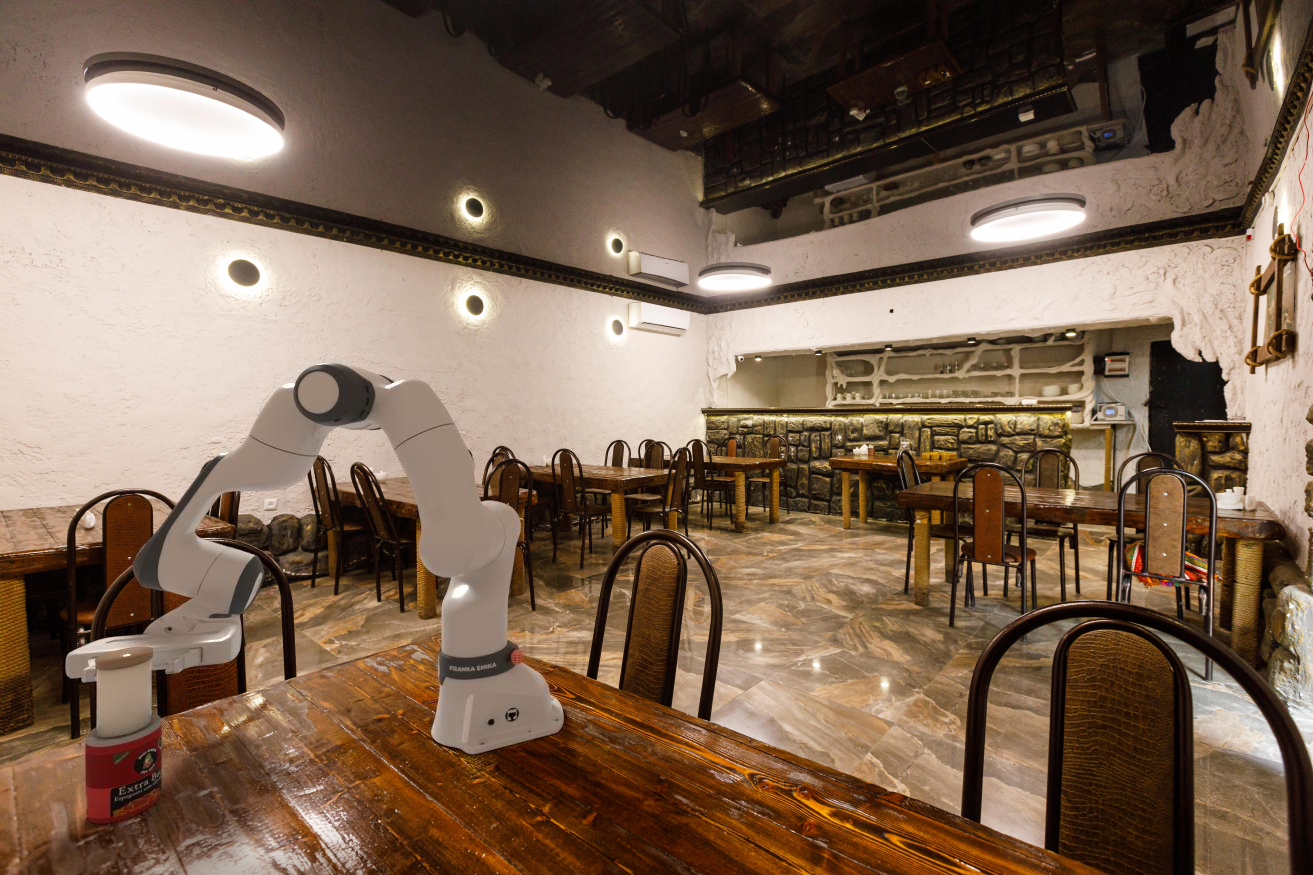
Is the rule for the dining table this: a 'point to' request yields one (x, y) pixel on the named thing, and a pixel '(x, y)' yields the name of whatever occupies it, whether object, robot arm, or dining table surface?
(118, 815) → the canned food
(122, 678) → the spice jar
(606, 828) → the dining table surface
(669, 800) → the dining table surface
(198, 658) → the robot arm
